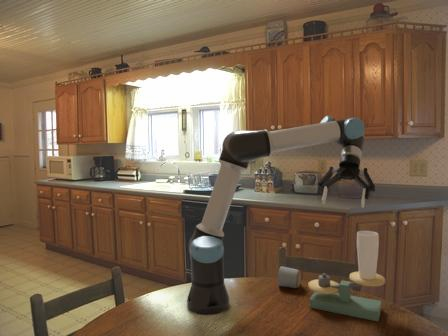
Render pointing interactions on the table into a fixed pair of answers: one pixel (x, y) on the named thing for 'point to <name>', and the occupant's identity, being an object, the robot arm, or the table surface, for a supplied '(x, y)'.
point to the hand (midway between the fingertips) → (342, 203)
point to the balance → (345, 296)
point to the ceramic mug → (289, 277)
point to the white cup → (367, 253)
